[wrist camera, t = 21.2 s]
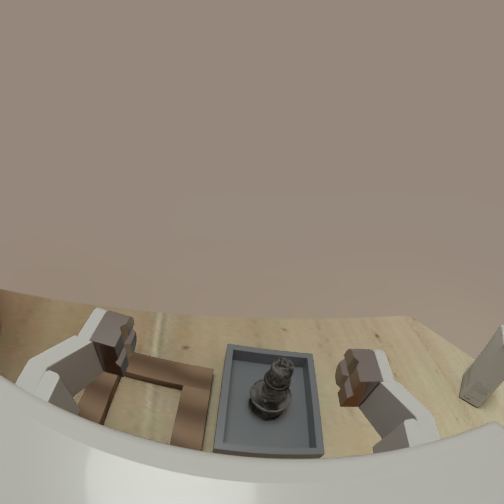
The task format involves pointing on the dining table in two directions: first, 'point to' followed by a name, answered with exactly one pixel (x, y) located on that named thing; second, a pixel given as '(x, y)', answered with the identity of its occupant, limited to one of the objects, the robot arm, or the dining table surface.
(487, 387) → the skincare box
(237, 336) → the dining table surface
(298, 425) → the parts tray
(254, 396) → the dark piece
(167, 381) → the socket block
